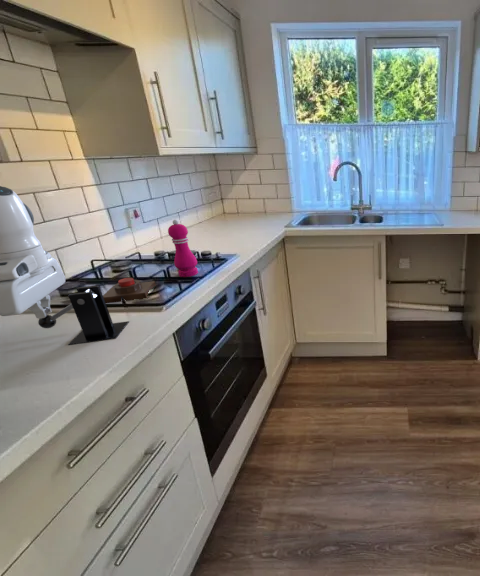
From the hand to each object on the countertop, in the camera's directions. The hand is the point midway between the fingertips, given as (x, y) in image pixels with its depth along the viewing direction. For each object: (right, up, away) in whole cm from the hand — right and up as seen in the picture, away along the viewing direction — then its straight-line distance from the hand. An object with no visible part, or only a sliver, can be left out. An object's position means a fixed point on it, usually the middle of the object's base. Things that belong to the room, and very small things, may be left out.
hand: (44, 315), depth 86 cm
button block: (0, +4, +29) cm, 29 cm away
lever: (+5, 0, +1) cm, 5 cm away
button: (0, +8, +27) cm, 28 cm away
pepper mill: (+10, +11, +45) cm, 48 cm away
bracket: (+9, -6, +5) cm, 12 cm away
